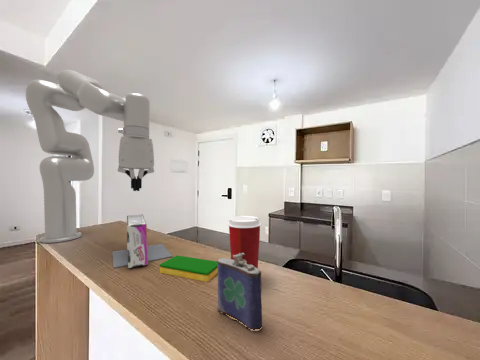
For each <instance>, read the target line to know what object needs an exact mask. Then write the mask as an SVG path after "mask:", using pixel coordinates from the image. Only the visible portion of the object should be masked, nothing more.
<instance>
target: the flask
mask: <svg viewBox="0 0 480 360" xmlns="http://www.w3.org/2000/svg"><path fill="white" fill-rule="evenodd" d="M242 255H245V254H244V253H239V254H237V255H233V258H235V260H232V259H231V258H228V257H222V258H219V259H217V268H218V273H217V310H218V312H219V311H220V312H222V313H225V314H227V315H229V316H231V317H233V318H235V319H237V320H238V321H240V322H242V323H243V324H244V325H246V326H247V327H248V328H250V329H253V330H255V329H260V328H261V327H262V328H263V307H262V271H261V270H260V268H258V269H257V268H255V267H254V266H253V265H248V264H247V261H246V260H245V259H242ZM220 312H219V313H220ZM238 321H237V322H238ZM244 325H243V326H244Z"/></svg>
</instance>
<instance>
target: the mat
mask: <svg viewBox="0 0 480 360" xmlns="http://www.w3.org/2000/svg"><path fill="white" fill-rule="evenodd" d="M147 248H148V263H149V262H154V261H159V260H163V259H171V258H173V254H171V252H170V251H169V250H168V248H166V246H165V245H164V244H163V243H159V244H153V245H147ZM111 253H112V266H113V269H117V268H122V267H128V254H127V248H126V249H120V250H115V251H112V252H111Z"/></svg>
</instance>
